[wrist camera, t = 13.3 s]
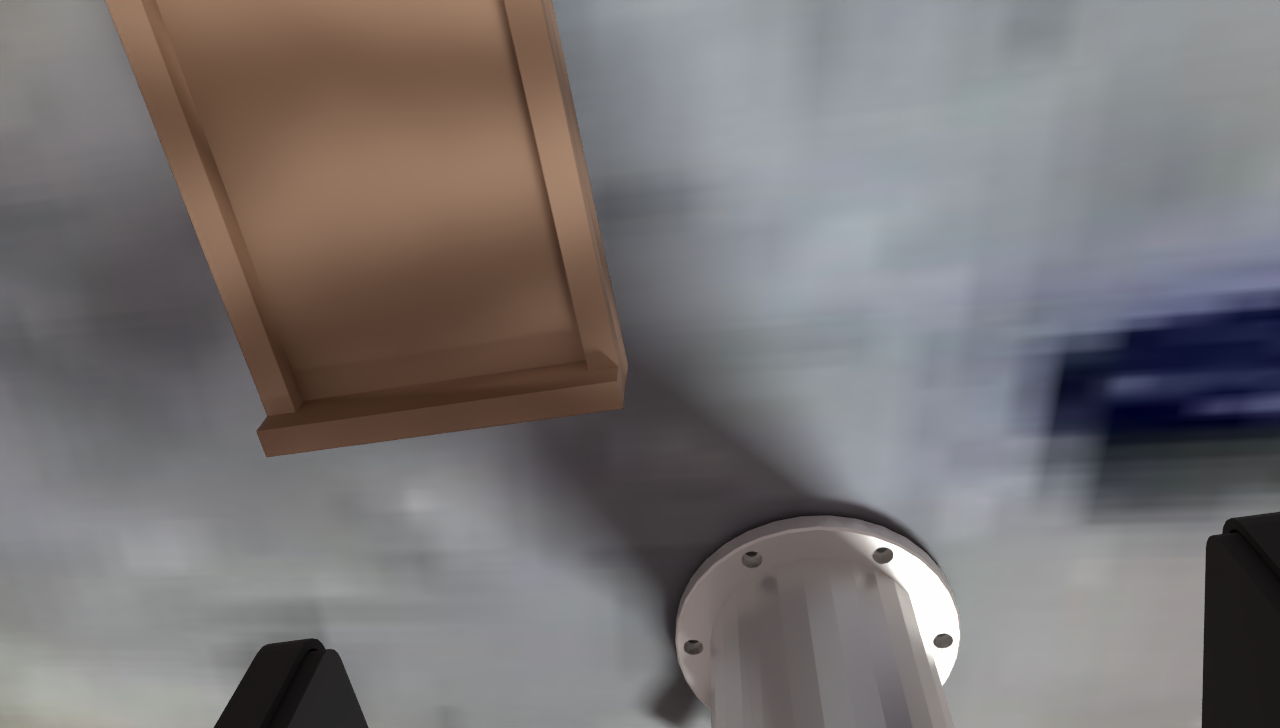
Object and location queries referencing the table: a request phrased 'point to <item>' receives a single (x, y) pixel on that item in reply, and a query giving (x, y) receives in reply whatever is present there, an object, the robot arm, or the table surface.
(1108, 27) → the table surface
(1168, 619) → the table surface
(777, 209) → the table surface
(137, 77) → the beam
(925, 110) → the table surface
